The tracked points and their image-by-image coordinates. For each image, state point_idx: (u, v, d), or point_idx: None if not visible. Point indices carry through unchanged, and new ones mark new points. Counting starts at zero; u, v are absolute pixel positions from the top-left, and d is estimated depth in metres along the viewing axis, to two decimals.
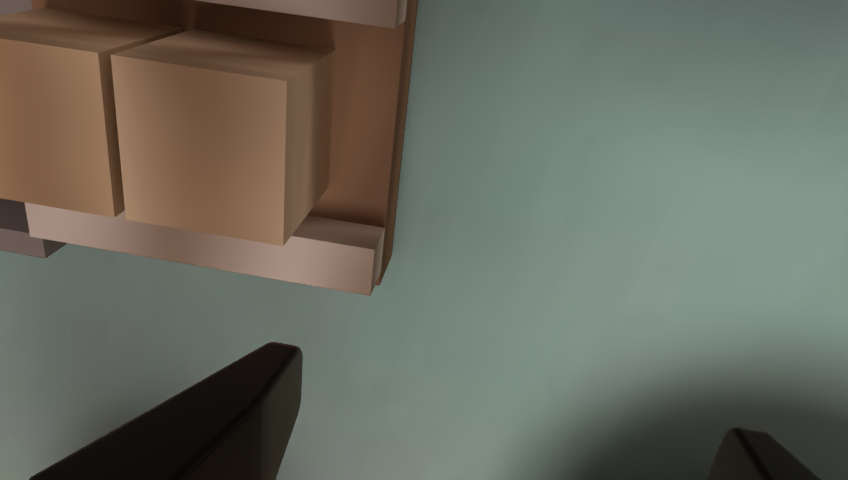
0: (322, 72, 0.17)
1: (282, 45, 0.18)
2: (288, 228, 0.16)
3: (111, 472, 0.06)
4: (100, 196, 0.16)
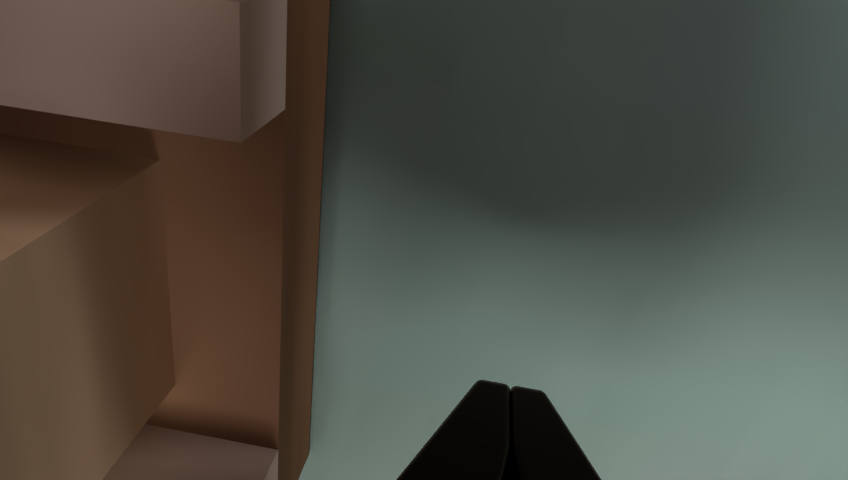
0: (114, 217, 0.08)
1: (52, 154, 0.09)
2: None
3: None
4: None
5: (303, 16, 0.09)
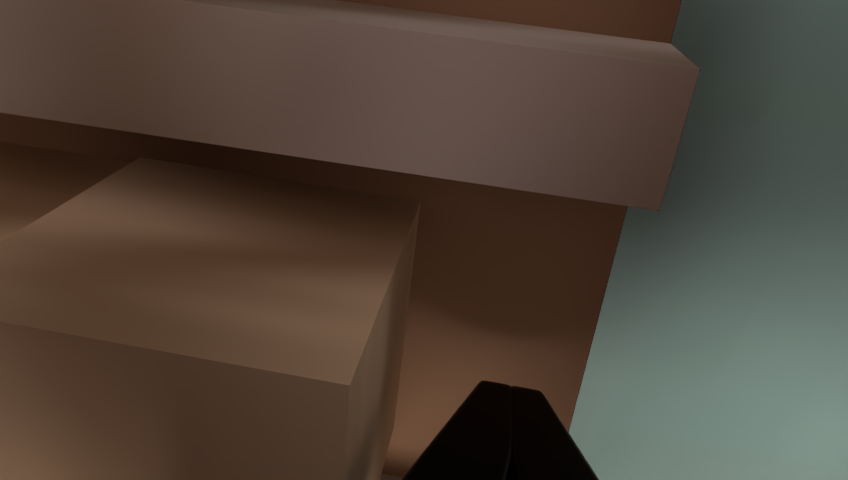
0: (403, 266, 0.08)
1: (316, 198, 0.09)
2: None
3: None
4: None
5: None
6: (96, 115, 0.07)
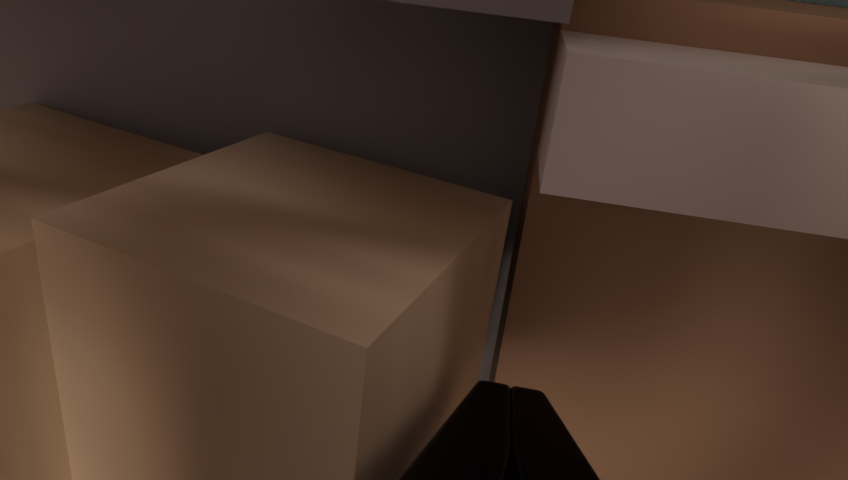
0: (477, 259, 0.08)
1: (410, 184, 0.09)
2: None
3: None
4: None
5: None
6: None
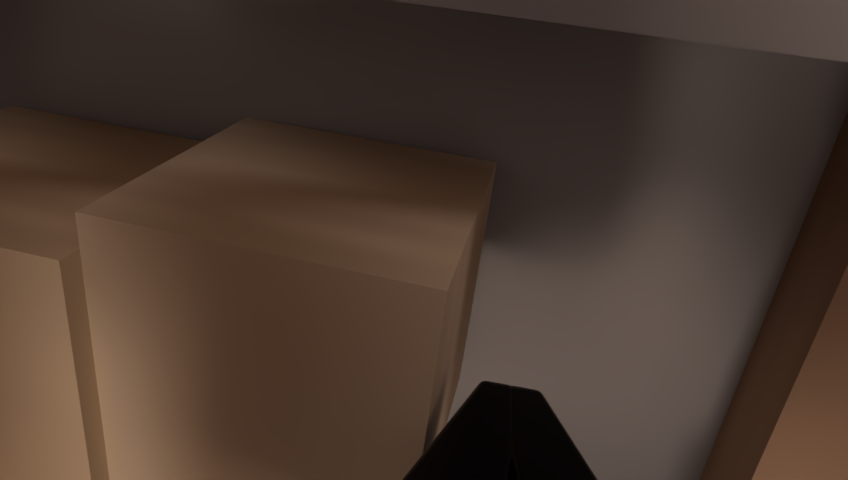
0: (482, 215, 0.09)
1: (404, 155, 0.10)
2: None
3: None
4: None
5: None
6: None
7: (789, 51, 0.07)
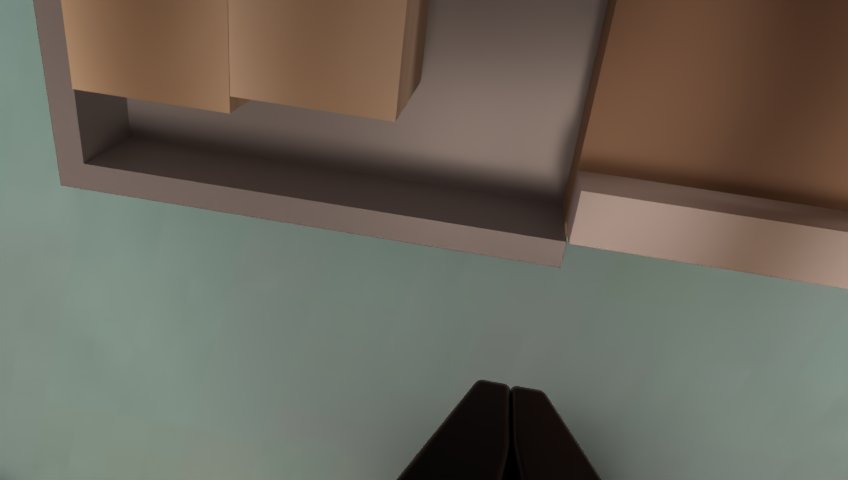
0: None
1: None
2: (399, 104, 0.16)
3: None
4: (216, 90, 0.16)
5: None
6: None
7: None
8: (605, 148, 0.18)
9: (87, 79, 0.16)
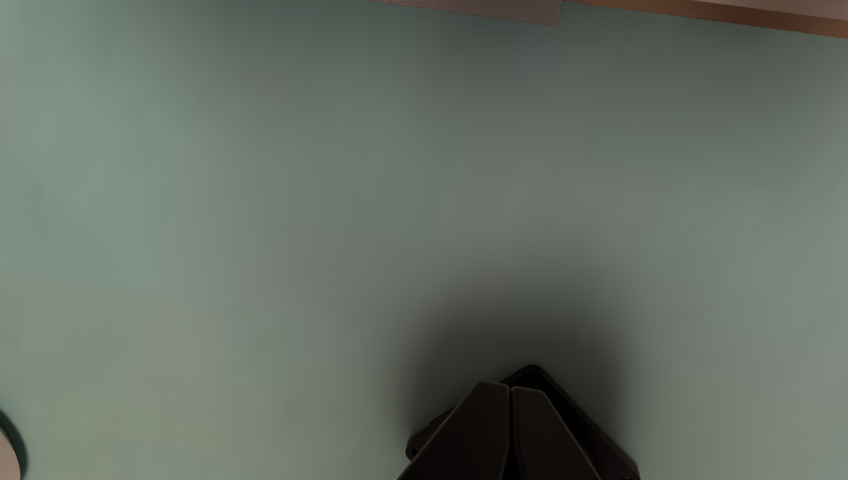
0: None
1: None
2: None
3: None
4: None
5: None
6: None
7: None
8: None
9: None
